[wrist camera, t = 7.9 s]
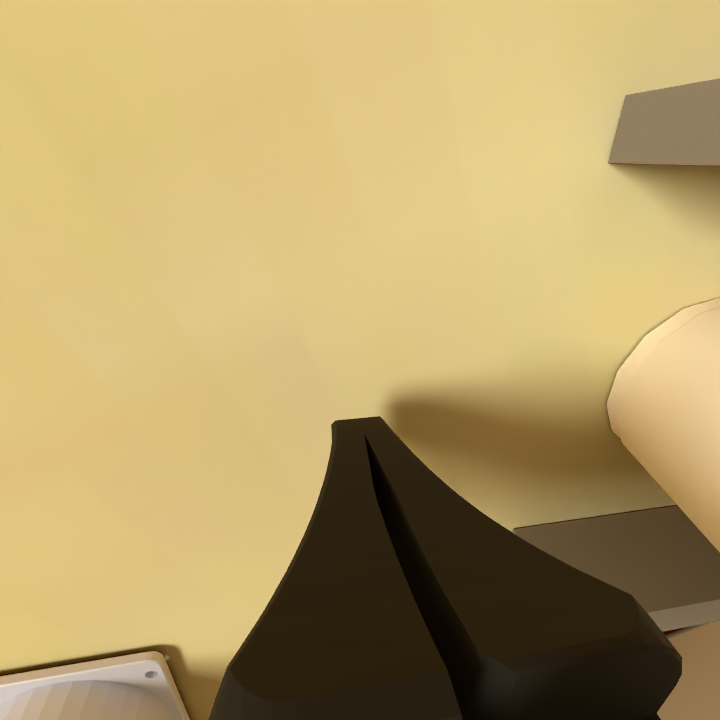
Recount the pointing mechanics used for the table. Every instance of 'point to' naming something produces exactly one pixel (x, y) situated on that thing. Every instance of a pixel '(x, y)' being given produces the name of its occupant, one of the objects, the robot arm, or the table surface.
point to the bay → (668, 524)
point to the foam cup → (676, 411)
